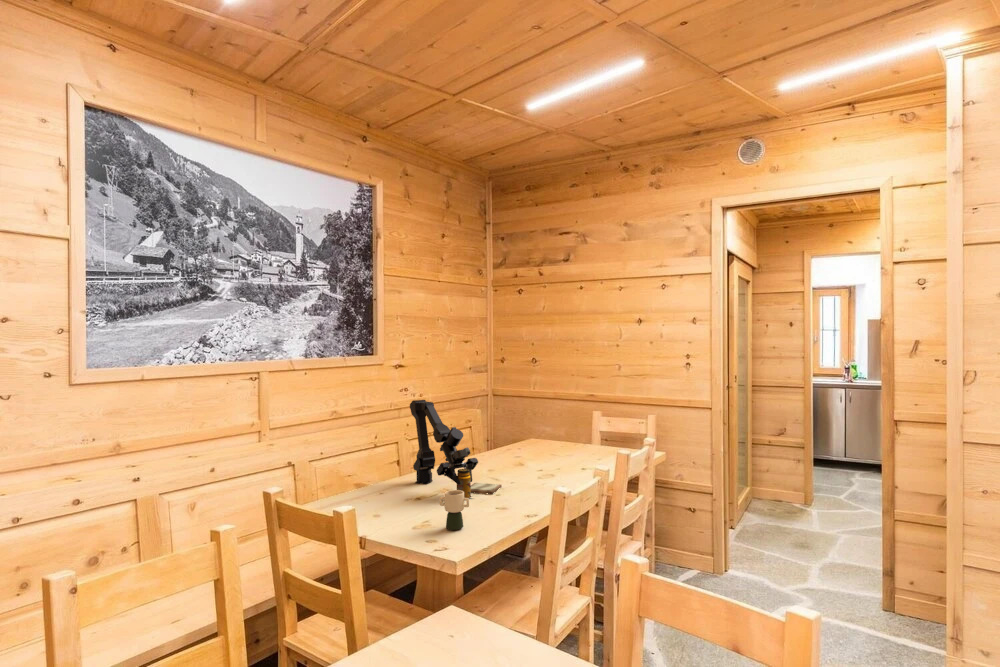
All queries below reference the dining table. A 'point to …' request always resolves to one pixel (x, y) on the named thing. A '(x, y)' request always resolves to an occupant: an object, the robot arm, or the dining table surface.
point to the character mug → (454, 508)
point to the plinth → (485, 488)
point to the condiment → (464, 482)
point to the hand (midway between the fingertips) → (465, 482)
